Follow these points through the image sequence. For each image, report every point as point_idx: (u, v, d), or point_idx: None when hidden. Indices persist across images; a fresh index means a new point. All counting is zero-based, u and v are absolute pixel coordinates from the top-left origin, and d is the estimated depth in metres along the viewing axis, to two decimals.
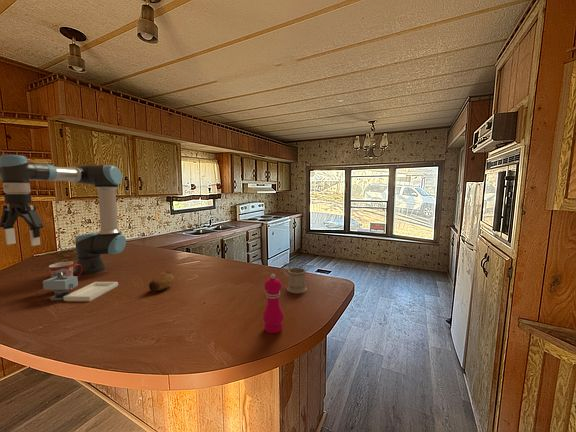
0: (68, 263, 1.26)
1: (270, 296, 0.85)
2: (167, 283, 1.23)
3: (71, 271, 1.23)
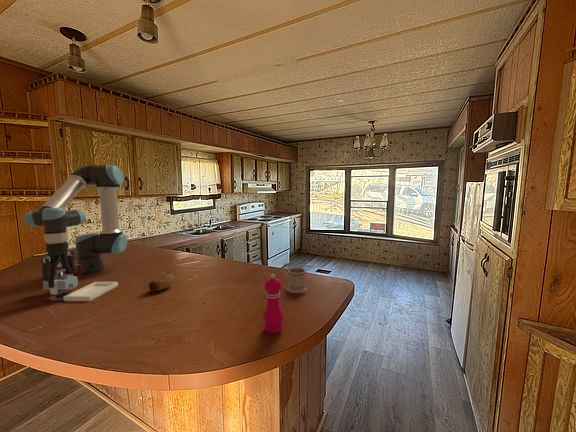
0: None
1: (270, 296, 0.85)
2: (167, 283, 1.23)
3: None
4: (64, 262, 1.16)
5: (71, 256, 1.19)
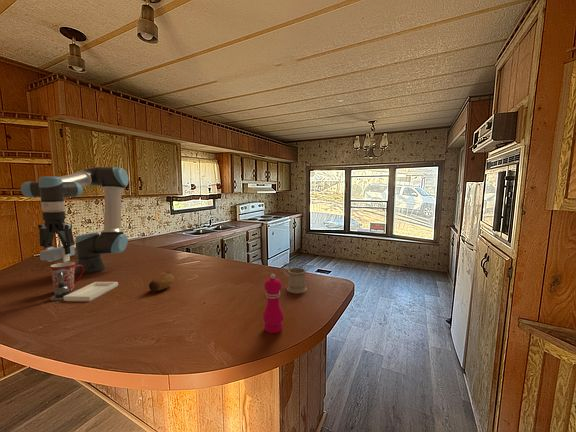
0: (70, 263, 1.26)
1: (270, 296, 0.85)
2: (167, 283, 1.23)
3: (72, 272, 1.22)
4: (53, 233, 1.14)
5: None
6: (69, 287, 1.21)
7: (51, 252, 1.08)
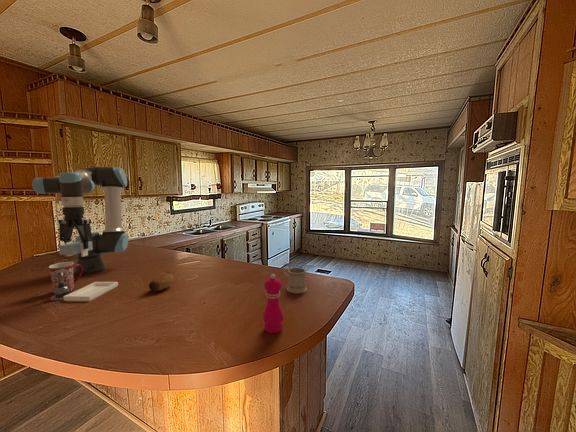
0: (68, 263, 1.25)
1: (270, 296, 0.85)
2: (167, 283, 1.23)
3: (71, 272, 1.22)
4: (72, 228, 1.16)
5: None
6: (69, 287, 1.21)
7: (70, 246, 1.10)
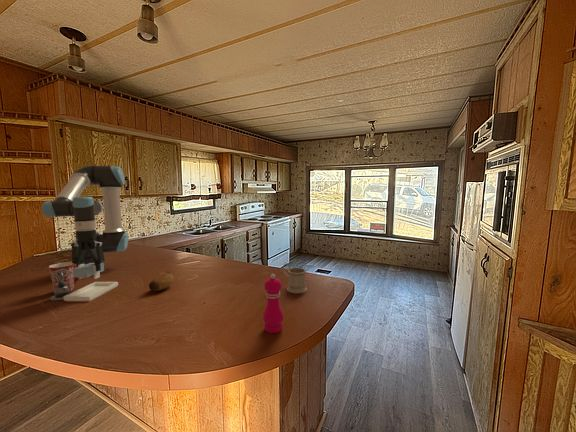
0: (68, 264, 1.25)
1: (270, 296, 0.85)
2: (167, 283, 1.23)
3: (71, 272, 1.22)
4: (85, 250, 1.18)
5: None
6: (69, 287, 1.21)
7: (84, 269, 1.13)
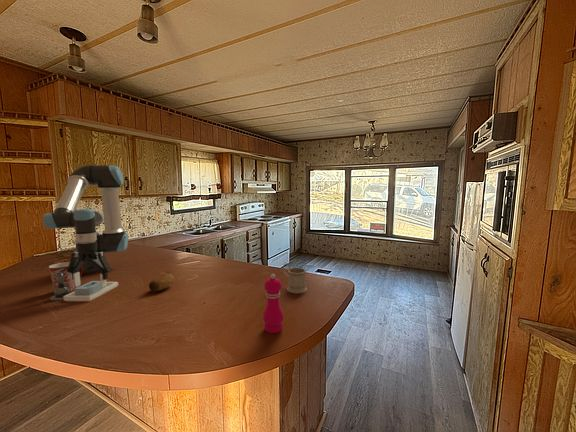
0: (68, 264, 1.25)
1: (270, 296, 0.85)
2: (167, 283, 1.23)
3: None
4: (83, 261, 1.19)
5: None
6: (69, 287, 1.21)
7: (86, 289, 1.14)
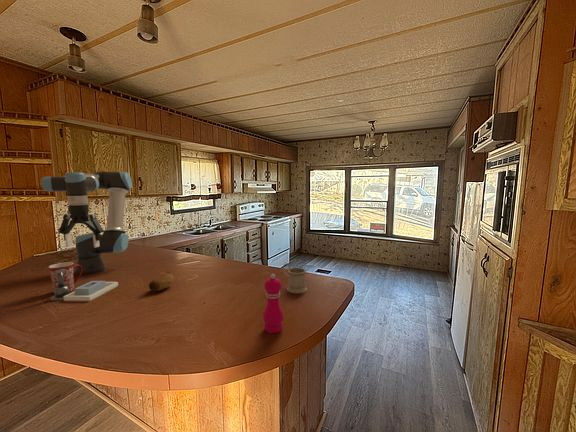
0: (68, 264, 1.25)
1: (270, 296, 0.85)
2: (167, 283, 1.23)
3: (71, 272, 1.22)
4: (75, 223, 1.23)
5: None
6: (69, 287, 1.21)
7: (86, 289, 1.14)
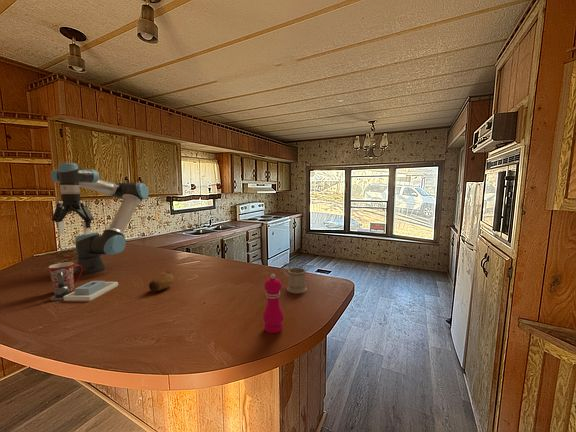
0: (68, 264, 1.25)
1: (270, 296, 0.85)
2: (167, 283, 1.23)
3: (71, 272, 1.22)
4: (67, 212, 1.30)
5: None
6: (69, 287, 1.21)
7: (86, 289, 1.14)
